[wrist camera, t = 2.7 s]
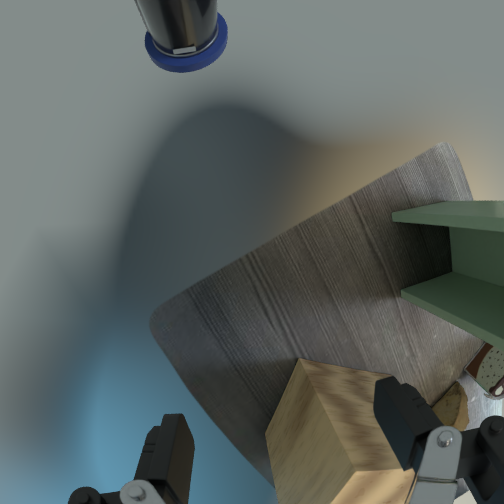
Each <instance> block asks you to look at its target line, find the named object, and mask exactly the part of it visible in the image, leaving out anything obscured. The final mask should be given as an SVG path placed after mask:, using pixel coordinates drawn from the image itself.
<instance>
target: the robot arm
mask: <svg viewBox="0 0 504 504" xmlns="http://www.w3.org/2000/svg"><path fill="white" fill-rule="evenodd" d="M135 3H136V5H137V7H138V10H139V12H140V15H141V17H142V19H143V22H144V24H145V26H146V29H147V31H148V33H149V35H150V36H152V40H153V43H154V45H155V47H156V49H157V50H158V51H159V52H160V53H162V54H163V55H165V56H168V57H172V58H188V57H193V56H196V55H198V54H201V53H202V52H204V51H206V50H207V49H208V48H210V47H211V46H212V45H213V43H214V42H215V40H216V38H217V36H218V22H217V0H135ZM373 411H374V415H375V418H376V420H377V422H378V424H379V426H380V428H381V429H382V431H383V433H384V435H385V437H386V439H387V441H388V442H389V444H390V446H391V448H392V450H393V452H394V454H395V456H396V458H397V459H398V461H399V463H400V465H401V467H402V469H403V471H407V470H409V469H412V468H413V470H414V472H415V474H414V477H413V480H412V483H411V486H410V489H409V492H408V494H407V497H406V500H405V502H404V504H453V502H454V498H455V494H456V489H457V481H455V479H459V478H464V480H465V482H466V484H467V486H468V487H469V489H470V491H471V493H472V495H473V497H474V499H475V500H476V502H477V504H504V417H501V416H490V417H487V418H486V419H485V420H483V422H482V423H481V425H480V428H476V429H471V430H466V431H459V430H458V429H456V428H455V427H452V426H445V425H444V424H443V423H442V422H441V420H440V419H439V418H438V417H437V415H436V414H435V413H434V411H433V410H432V409H431V407H430V406H429V405H428V404H427V403H426V401H425V400H424V398H423V397H422V396H421V395H420V393H419V392H418V391H417V389H416V388H414V387H412V386H411V385H409V384H407V383H405V384H402V385H400V383H399V382H398V381H397V379H396V378H395V377H394V376H389V377H386V378H383V379H379V380H376V382H375V391H374V402H373ZM194 450H195V446H194V439H193V436H192V434H191V431H190V429H189V427H188V425H187V422H186V420H185V417H184V415H183V414H165V415H164V416H163V419H162V423H161V426H154V427H153V428H152V429H151V431H150V432H149V433H148V434H147V437H146V440H145V445H144V446H143V450H142V453H141V456H140V460H139V463H138V466H137V470H136V473H135V477H134V480H133V481H130V482H128V483H127V484H125V485H124V486H123V487H122V489H121V491H118V492H111V493H104V494H99V493H98V491H97V490H95V489H94V488H91V487H81V488H78V489H76V490H75V491H74V492H73V493H72V494H71V496H70V498H69V501H68V504H188V499H189V490H190V481H191V473H192V465H193V457H194Z"/></svg>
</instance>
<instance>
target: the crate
mask: <svg viewBox="0 0 504 504" xmlns="http://www.w3.org/2000/svg"><path fill="white" fill-rule="evenodd" d="M389 376H392V375H389V374H382V373H376V372H369V371H363V370H357V369H352V368H346V367H341V366H335V365H330V364H325V363H320V362H315V361H310V360H306V359H301V358H299V359H298V361H297V363H296V366H295V368H294V370H293V373H292V375H291V377H290V380H289V382H288V384H287V387H286V389H285V391H284V393H283V396H282V398H281V400H280V402H279V404H278V407H277V409H276V411H275V413H274V415H273V417H272V419H271V422H270V424H269V426H268V428H267V430H266V432H265V437H266V442H267V447H268V452H269V458H270V463H271V468H272V473H273V478H274V483H275V488H276V493H277V498H278V503H279V504H404V502H405V500H406V497H407V494H408V492H409V489H410V486H411V483H412V480H413V477H414V474H415V472H414V470H413V468H412V469H409V470H407V471H403V469H402V467H401V465H400V463H399V461H398V459H397V458H396V456H395V454H394V452H393V450H392V448H391V446H390V444H389V442H388V441H387V439H386V437H385V435H384V433H383V431H382V429H381V428H380V426H379V424H378V422H377V420H376V418H375V415H374V411H373V402H374V391H375V382H376V380H379V379H383V378H386V377H389ZM400 385H401V384H400Z"/></svg>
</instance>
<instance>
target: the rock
mask: <svg viewBox="0 0 504 504" xmlns="http://www.w3.org/2000/svg"><path fill="white" fill-rule="evenodd" d="M467 401H468V398H467V395H466V394H465V391H464V388H463V387H462V386H461V385H460V383H459V382H458V381H457V382H456V383H455V384H454V385H453V386H452V387H451V388H450V390H449V391H448V392H447V393H446V394H445V395H444V396H443V397H442V398H441V399H440V401H438V402H437V403H436V404H435V405H434V406H433V407H432V410H433V411H434V413H435V414H436V415H437V417H438V418H439V419H440V420H441V422H442V423H443V424H444V425H445V426H452V427H455V428H456V429H458V430H459V431H464V430H465V429H466V426H467V425H468V423H469V417H468V408H467Z"/></svg>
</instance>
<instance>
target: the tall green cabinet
mask: <svg viewBox="0 0 504 504" xmlns="http://www.w3.org/2000/svg"><path fill="white" fill-rule="evenodd" d="M391 214H392V220H393V222H405V223H417V224H429V225H440V226H449V233H450V244H451V257H452V272H450V273H448V274H445V275H442V276H439V277H437V278H434V279H431V280H428V281H425V282H422V283H419V284H416V285H413V286H410V287H407V288H404V289H401V298H403V299H405V300H407V301H409V302H411V303H413V304H415V305H417V306H419V307H421V308H423V309H425V310H427V311H429V312H430V313H432V314H434V315H436V316H438V317H440V318H442V319H444V320H446V321H448V322H450V323H451V324H453V325H455V326H457V327H459V328H461V329H463V330H465V331H467V332H468V333H470V334H472V335H474V336H476V337H478V338H480V339H481V340H483V341H485V342H487V343H489V344H491V345H493V346H494V347H496V348H498V349H500V350H502V351H504V201H446V202H441V203H436V204H431V205H426V206H421V207H417V208H412V209H407V210H402V211H397V212H392V213H391Z"/></svg>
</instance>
